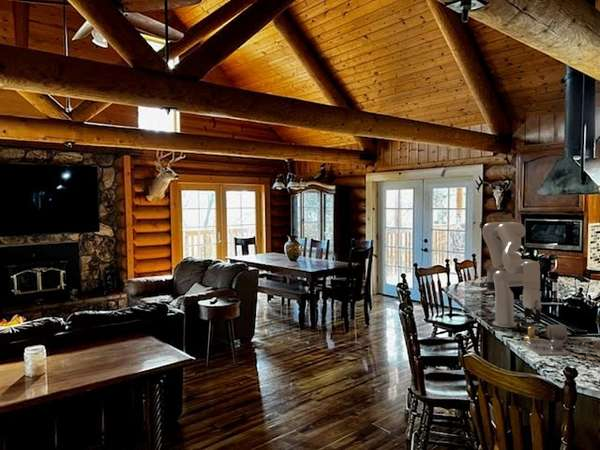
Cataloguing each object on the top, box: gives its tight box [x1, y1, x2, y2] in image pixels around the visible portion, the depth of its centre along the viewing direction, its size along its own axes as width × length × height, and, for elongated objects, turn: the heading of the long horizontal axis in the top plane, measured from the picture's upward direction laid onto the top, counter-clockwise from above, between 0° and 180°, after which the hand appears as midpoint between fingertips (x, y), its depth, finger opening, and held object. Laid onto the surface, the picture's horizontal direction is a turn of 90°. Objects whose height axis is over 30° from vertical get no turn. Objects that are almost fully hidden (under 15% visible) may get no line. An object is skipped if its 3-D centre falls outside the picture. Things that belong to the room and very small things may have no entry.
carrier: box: [520, 338, 570, 356], centre depth 212 cm, size 17×14×5 cm
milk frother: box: [479, 269, 498, 291], centre depth 360 cm, size 14×16×15 cm
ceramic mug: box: [545, 323, 568, 344], centre depth 224 cm, size 11×8×8 cm
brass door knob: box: [523, 325, 540, 341], centre depth 226 cm, size 7×7×7 cm
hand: (532, 319), depth 224 cm, fingers open, 9 cm apart
